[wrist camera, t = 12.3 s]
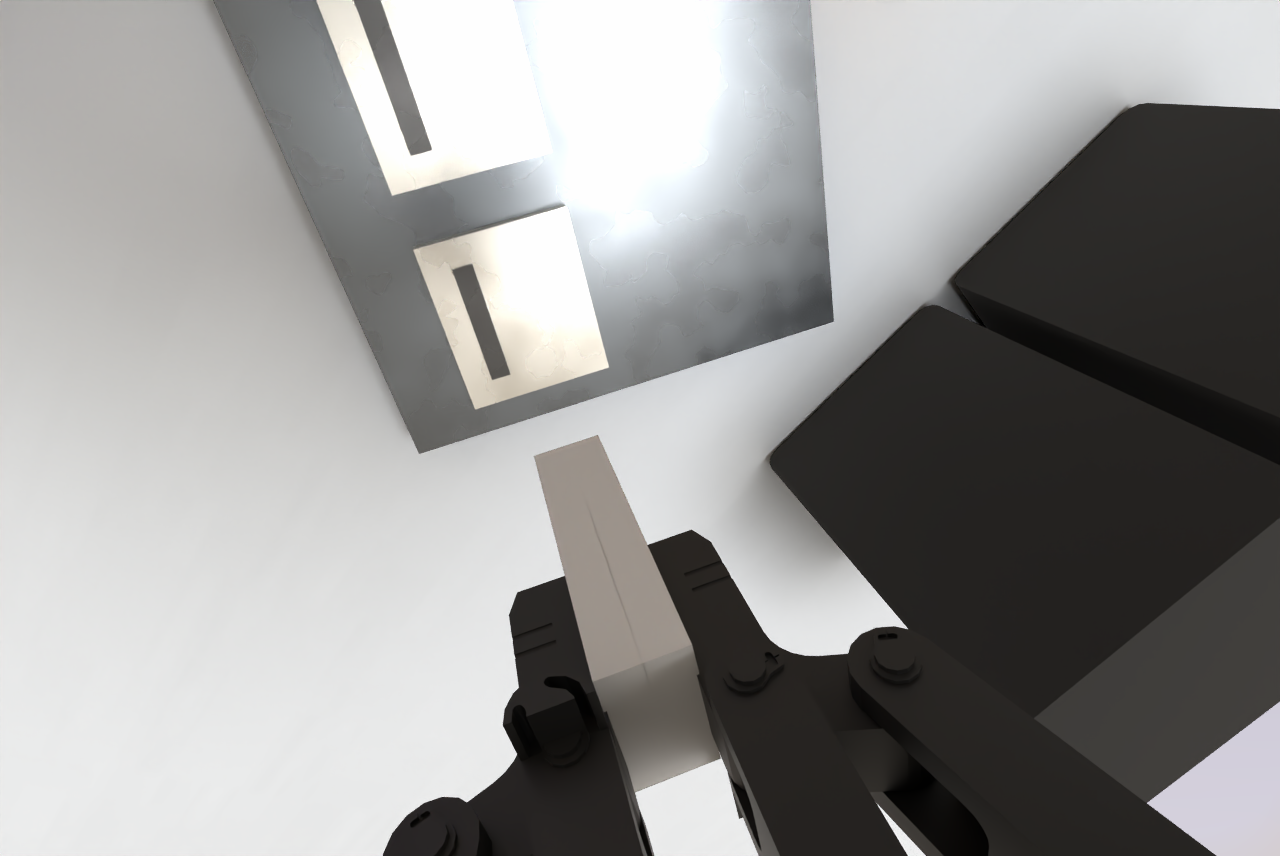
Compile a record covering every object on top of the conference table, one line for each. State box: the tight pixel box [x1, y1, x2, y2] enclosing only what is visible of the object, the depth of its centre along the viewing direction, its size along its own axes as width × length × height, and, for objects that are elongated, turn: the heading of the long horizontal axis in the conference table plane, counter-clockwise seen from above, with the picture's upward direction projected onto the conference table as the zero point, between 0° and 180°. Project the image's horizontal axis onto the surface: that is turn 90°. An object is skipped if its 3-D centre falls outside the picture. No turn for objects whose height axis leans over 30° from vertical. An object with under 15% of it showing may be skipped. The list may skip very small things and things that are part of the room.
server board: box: [213, 0, 834, 454], centre depth 26 cm, size 24×20×3 cm
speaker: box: [770, 103, 1280, 803], centre depth 30 cm, size 25×11×19 cm, turn 135°
